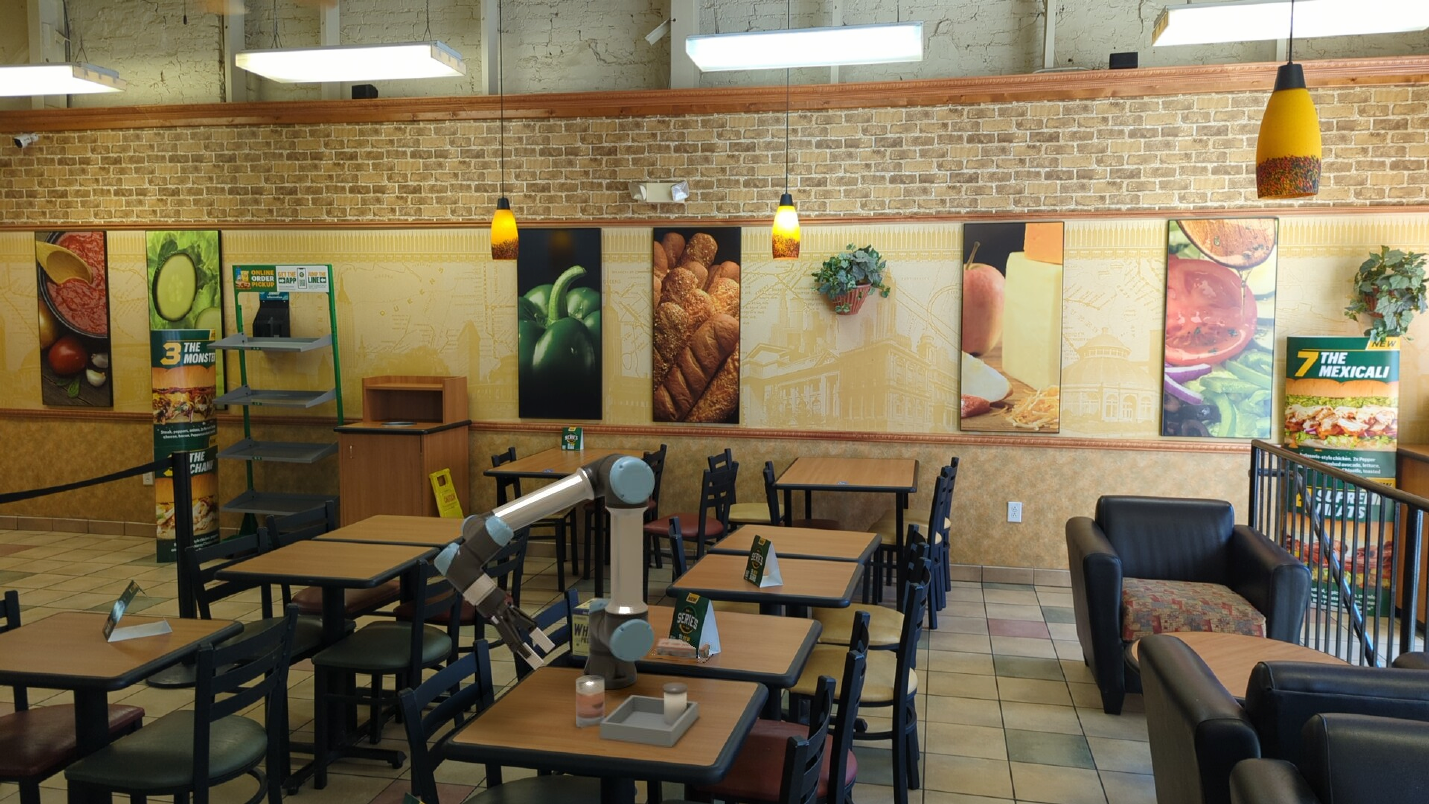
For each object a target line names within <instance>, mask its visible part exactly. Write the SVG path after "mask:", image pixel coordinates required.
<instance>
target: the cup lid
mask: <svg viewBox="0 0 1429 804" xmlns="http://www.w3.org/2000/svg"><path fill="white" fill-rule="evenodd" d="M662 688H663V689H662V691H663V693H664V692H666V693H670V694H680V693H684V692H686V691H688V685H687V684H686V683H683V682H668V683H666V684H663V686H662Z"/></svg>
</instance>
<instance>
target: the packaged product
mask: <svg viewBox="0 0 1429 804" xmlns="http://www.w3.org/2000/svg"><path fill="white" fill-rule="evenodd" d="M682 640H683V639H676V638H675V639H674V638H673V639H672V638H659V639H658V642H657V643H656V644H655V649H654V650H657V655H670V656H677V657H683V658H684V657H685V658H696V656H697V655H696V648H695V647H693V646H691V645H690V644H688V643H686V642H683V641H682ZM709 649H710V645H709V644H705V645H703V646H702V647H700V648H699V652H698V655H699V657H700V658H708V655H709ZM652 655H653V654H652ZM654 655H655V654H654ZM705 660H706V659H703V660H701V661H705ZM698 661H699V660H698Z"/></svg>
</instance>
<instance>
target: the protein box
mask: <svg viewBox="0 0 1429 804" xmlns="http://www.w3.org/2000/svg"><path fill="white" fill-rule="evenodd" d="M600 599H608V598H606V597H597V596H595V597H593V598H591V599H589V600H586V602H584V603H582V604H580V605H577V606H576V607H574V608H572V659H573V660H580V661H586V662H587V659H588V656H589V615H588V612H589V605H590V603H591V602H593V601H595V600H600Z"/></svg>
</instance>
